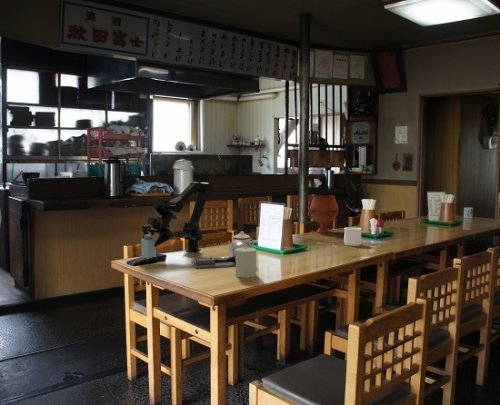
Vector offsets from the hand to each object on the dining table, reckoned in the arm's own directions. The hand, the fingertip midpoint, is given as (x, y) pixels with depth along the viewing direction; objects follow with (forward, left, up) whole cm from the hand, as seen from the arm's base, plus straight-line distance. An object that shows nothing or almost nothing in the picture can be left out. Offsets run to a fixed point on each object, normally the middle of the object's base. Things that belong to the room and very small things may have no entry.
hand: (148, 245), depth 240 cm
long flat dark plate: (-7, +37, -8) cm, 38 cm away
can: (+11, +55, -8) cm, 57 cm away
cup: (-78, +90, -8) cm, 120 cm away
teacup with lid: (-34, +38, -8) cm, 52 cm away
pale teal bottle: (0, 0, -8) cm, 8 cm away
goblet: (-119, +65, -8) cm, 136 cm away
